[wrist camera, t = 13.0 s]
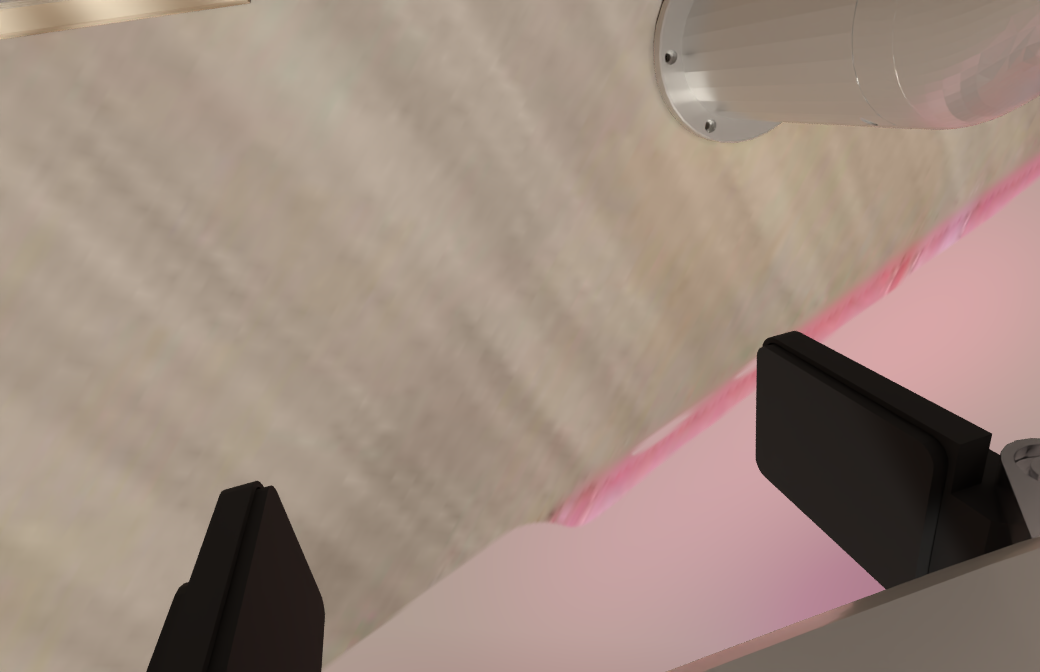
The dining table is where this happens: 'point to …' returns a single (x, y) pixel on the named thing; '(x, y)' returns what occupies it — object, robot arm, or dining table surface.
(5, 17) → the board
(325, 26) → the dining table surface
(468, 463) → the dining table surface
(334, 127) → the dining table surface
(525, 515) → the dining table surface
